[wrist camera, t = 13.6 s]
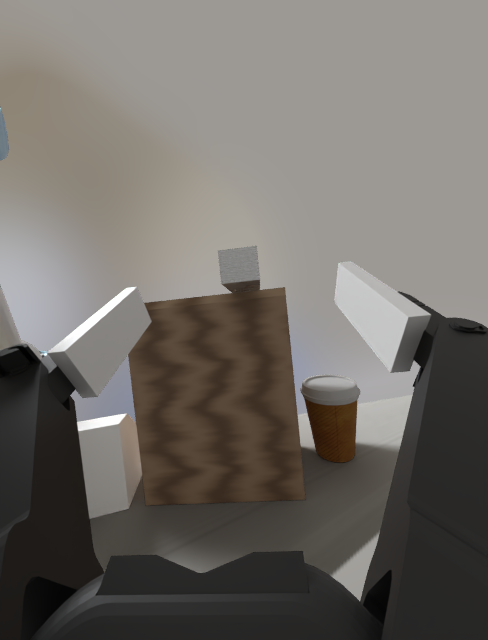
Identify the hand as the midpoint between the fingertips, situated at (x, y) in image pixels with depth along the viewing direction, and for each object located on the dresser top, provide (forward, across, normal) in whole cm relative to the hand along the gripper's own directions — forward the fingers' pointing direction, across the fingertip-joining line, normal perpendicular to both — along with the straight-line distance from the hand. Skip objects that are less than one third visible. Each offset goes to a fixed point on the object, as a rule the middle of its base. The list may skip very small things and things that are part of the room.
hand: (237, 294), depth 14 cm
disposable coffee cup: (+7, +12, -35) cm, 37 cm away
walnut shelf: (+4, -6, -33) cm, 33 cm away
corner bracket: (-1, -25, -30) cm, 39 cm away
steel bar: (+15, 0, -7) cm, 16 cm away
